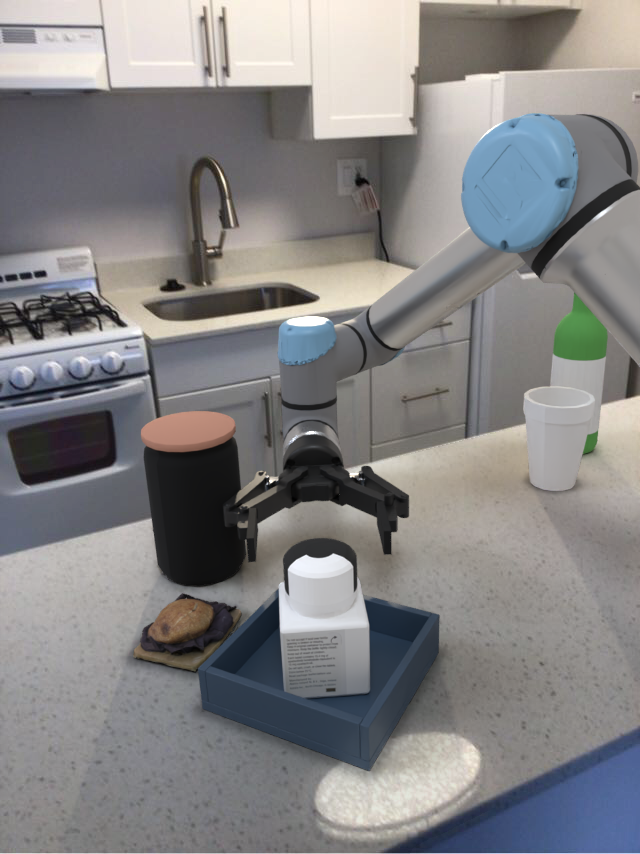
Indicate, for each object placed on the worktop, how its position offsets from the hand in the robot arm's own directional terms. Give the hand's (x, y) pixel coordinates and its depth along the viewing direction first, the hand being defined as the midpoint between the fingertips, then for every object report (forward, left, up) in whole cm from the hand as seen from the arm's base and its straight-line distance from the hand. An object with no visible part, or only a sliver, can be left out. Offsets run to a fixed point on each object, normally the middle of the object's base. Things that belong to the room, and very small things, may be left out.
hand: (319, 546), depth 75 cm
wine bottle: (-14, -59, -10) cm, 62 cm away
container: (-4, +7, -9) cm, 12 cm away
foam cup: (-14, -45, -10) cm, 48 cm away
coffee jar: (+19, -5, -10) cm, 22 cm away
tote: (-4, +7, -10) cm, 13 cm away
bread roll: (+12, +7, -10) cm, 17 cm away
